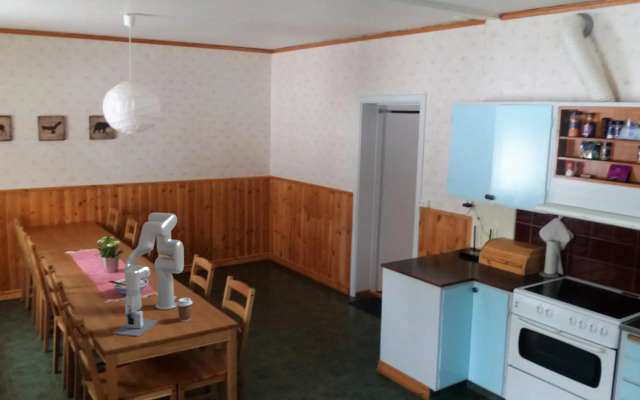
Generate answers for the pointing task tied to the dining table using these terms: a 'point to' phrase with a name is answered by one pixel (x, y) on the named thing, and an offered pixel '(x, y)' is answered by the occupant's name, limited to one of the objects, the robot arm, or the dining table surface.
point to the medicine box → (136, 320)
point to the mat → (135, 331)
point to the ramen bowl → (121, 285)
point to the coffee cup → (184, 309)
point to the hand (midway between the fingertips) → (134, 321)
